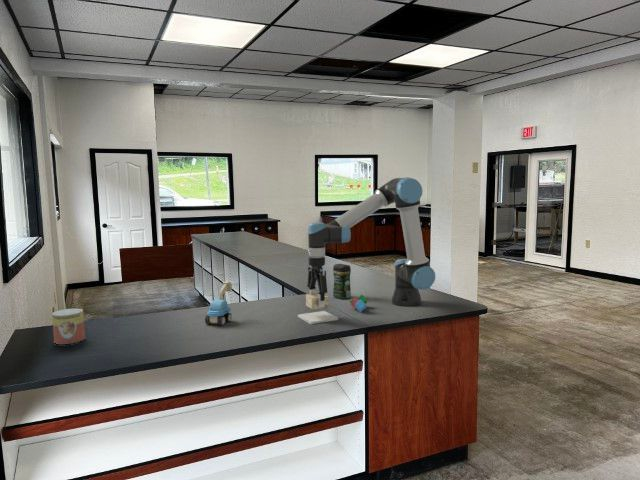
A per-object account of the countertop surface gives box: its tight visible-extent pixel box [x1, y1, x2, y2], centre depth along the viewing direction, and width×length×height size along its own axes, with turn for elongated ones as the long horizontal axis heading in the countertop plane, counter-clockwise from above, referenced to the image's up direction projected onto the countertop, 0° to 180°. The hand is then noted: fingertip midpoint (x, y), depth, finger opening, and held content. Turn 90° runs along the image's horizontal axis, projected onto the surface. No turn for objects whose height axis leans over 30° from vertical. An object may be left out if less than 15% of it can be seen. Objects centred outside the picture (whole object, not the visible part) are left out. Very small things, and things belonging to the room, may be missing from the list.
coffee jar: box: [332, 263, 352, 300], centre depth 260 cm, size 10×8×19 cm
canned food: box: [51, 307, 86, 345], centre depth 193 cm, size 11×11×12 cm
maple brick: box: [305, 293, 329, 310], centre depth 220 cm, size 8×8×5 cm
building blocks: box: [349, 294, 368, 313], centre depth 235 cm, size 8×8×12 cm
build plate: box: [297, 310, 339, 325], centre depth 221 cm, size 14×14×1 cm
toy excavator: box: [204, 281, 233, 326], centre depth 218 cm, size 9×17×17 cm, turn 161°
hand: (317, 305), depth 221 cm, fingers closed on maple brick, 8 cm apart
